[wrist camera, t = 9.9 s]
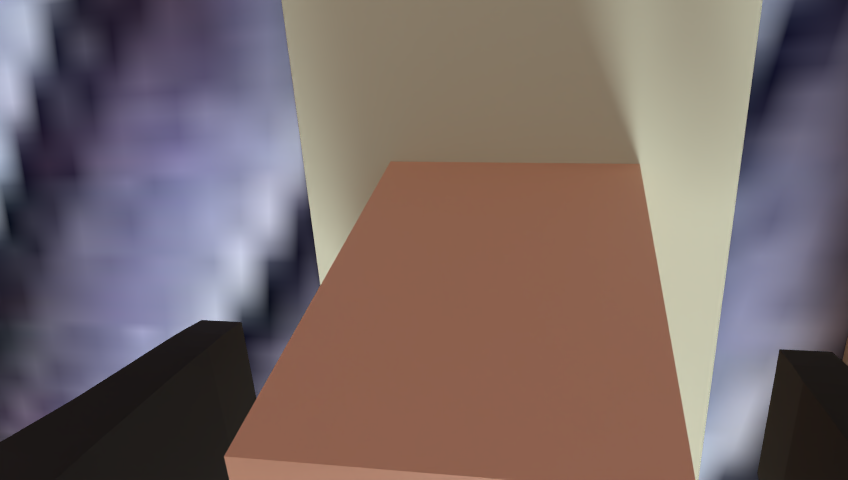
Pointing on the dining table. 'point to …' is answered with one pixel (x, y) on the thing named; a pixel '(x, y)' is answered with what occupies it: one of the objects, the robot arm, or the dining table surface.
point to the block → (480, 338)
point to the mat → (541, 119)
